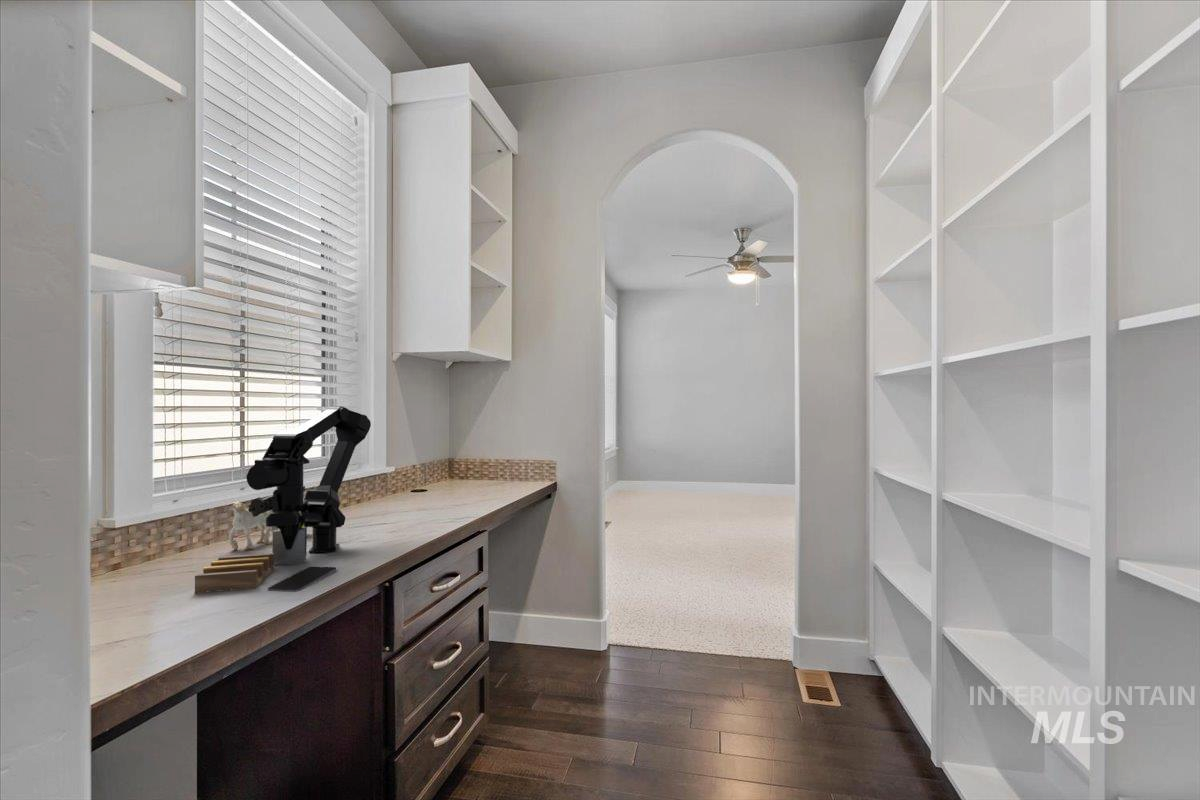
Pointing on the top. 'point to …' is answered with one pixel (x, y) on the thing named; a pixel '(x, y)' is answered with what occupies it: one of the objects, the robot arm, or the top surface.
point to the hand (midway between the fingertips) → (289, 548)
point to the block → (292, 555)
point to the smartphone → (302, 579)
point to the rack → (235, 572)
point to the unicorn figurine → (249, 525)
